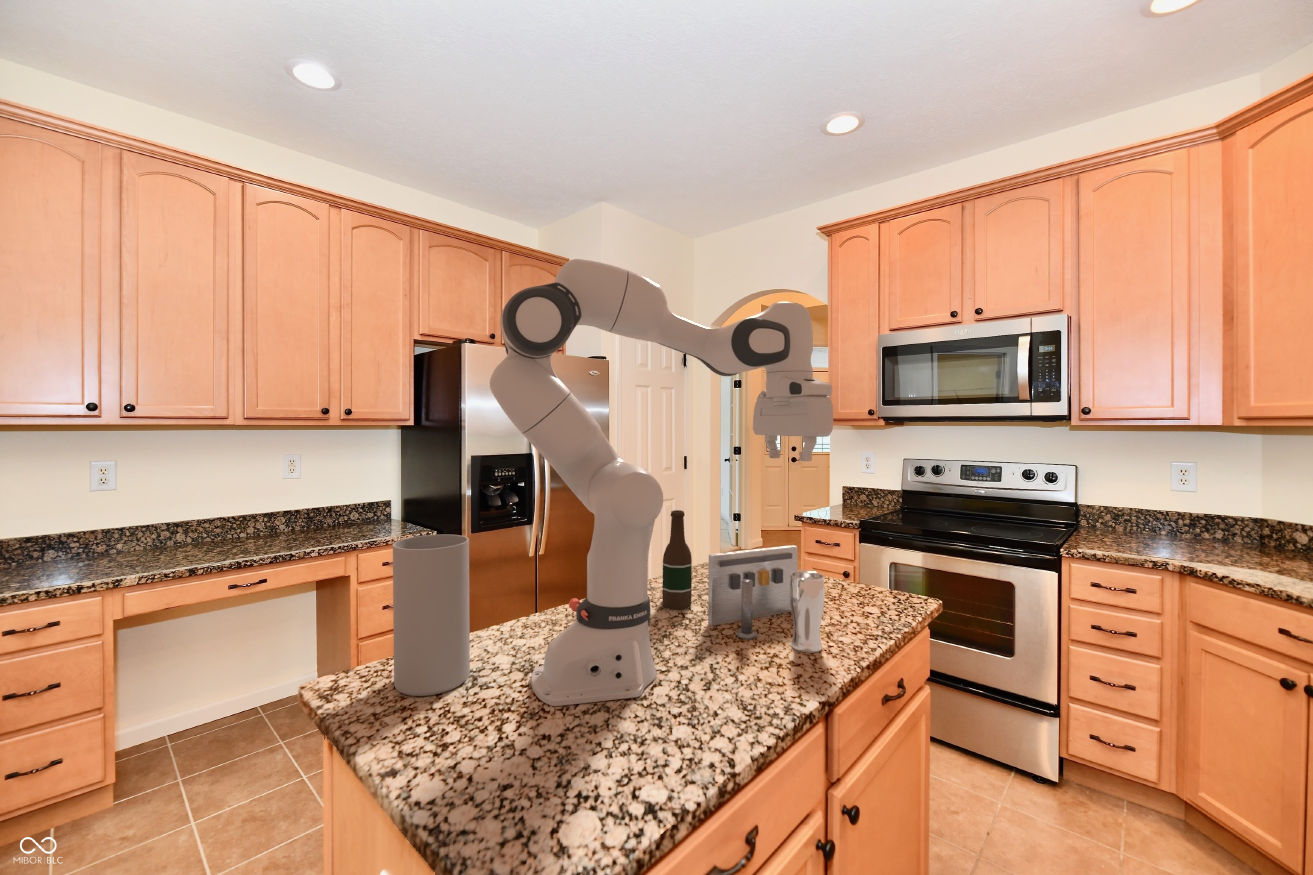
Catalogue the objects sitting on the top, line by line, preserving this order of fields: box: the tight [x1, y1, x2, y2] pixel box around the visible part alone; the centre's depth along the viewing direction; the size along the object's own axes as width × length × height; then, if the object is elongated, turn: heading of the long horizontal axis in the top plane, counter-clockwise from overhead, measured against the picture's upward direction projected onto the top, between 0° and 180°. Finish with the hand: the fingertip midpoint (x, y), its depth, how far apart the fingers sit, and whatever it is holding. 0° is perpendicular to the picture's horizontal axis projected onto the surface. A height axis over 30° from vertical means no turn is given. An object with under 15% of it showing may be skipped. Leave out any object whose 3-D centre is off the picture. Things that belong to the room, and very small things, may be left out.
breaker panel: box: [707, 544, 799, 627], centre depth 130 cm, size 24×3×16 cm, turn 114°
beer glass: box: [790, 570, 826, 654], centre depth 113 cm, size 7×7×15 cm
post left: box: [736, 579, 758, 641], centre depth 119 cm, size 4×4×12 cm
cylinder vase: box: [392, 534, 471, 697], centre depth 98 cm, size 12×12×25 cm
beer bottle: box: [662, 509, 693, 611], centre depth 139 cm, size 8×8×24 cm
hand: (789, 459), depth 107 cm, fingers open, 8 cm apart
